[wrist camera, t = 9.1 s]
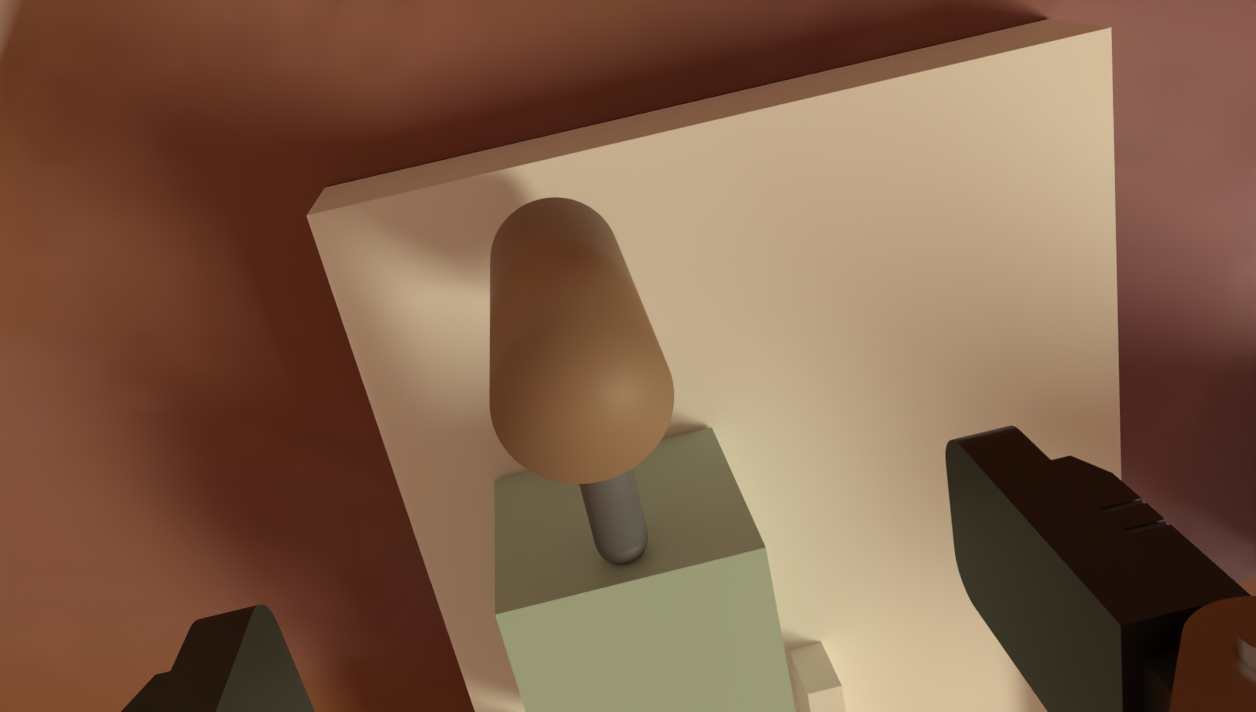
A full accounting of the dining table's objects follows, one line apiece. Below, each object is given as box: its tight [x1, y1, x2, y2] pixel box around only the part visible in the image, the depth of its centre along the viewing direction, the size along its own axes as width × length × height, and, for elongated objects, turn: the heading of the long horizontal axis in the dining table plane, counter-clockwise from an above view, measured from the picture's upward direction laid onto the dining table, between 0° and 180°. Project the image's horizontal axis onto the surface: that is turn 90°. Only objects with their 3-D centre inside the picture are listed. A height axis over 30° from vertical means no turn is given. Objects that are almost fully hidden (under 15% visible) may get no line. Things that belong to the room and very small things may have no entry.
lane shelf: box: [306, 19, 1121, 712], centre depth 30 cm, size 32×20×8 cm, turn 12°
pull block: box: [489, 197, 796, 712], centre depth 24 cm, size 16×6×10 cm, turn 11°
